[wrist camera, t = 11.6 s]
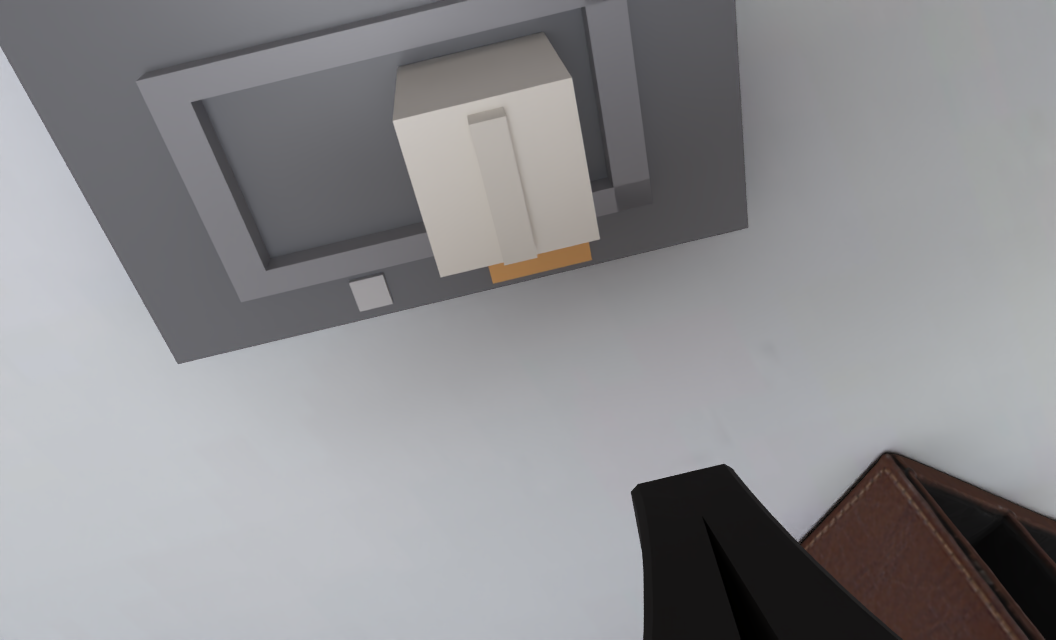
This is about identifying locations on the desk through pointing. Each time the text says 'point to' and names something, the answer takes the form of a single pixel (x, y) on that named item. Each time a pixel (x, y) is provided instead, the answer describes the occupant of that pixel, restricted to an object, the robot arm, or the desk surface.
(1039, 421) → the desk surface
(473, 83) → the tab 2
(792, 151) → the desk surface
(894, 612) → the letter holder
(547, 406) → the desk surface
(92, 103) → the switch bank
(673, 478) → the robot arm
